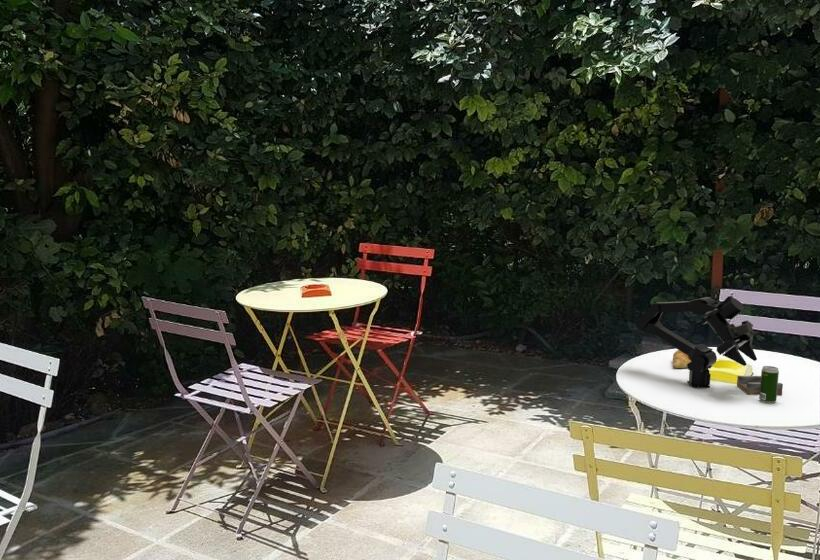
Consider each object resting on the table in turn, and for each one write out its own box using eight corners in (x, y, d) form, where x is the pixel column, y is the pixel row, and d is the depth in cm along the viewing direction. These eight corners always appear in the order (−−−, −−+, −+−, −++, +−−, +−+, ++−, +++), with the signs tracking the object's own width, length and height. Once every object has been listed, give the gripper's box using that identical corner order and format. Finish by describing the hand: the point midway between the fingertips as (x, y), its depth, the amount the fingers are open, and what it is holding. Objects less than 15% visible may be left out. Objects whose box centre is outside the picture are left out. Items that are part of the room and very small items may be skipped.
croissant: (681, 379, 290) (691, 364, 286) (660, 363, 295) (670, 348, 291) (700, 367, 305) (711, 352, 302) (680, 352, 310) (690, 337, 307)
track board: (747, 394, 260) (748, 383, 259) (736, 385, 270) (737, 375, 269) (781, 395, 259) (782, 384, 259) (769, 386, 269) (770, 376, 269)
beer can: (770, 404, 249) (773, 371, 247) (755, 400, 254) (758, 367, 252) (779, 401, 252) (782, 368, 250) (764, 397, 257) (767, 364, 255)
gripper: (727, 317, 250) (758, 355, 244) (749, 310, 263) (779, 345, 257) (703, 336, 257) (733, 372, 251) (726, 327, 270) (754, 362, 264)
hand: (750, 362), depth 256 cm, fingers open, 9 cm apart
